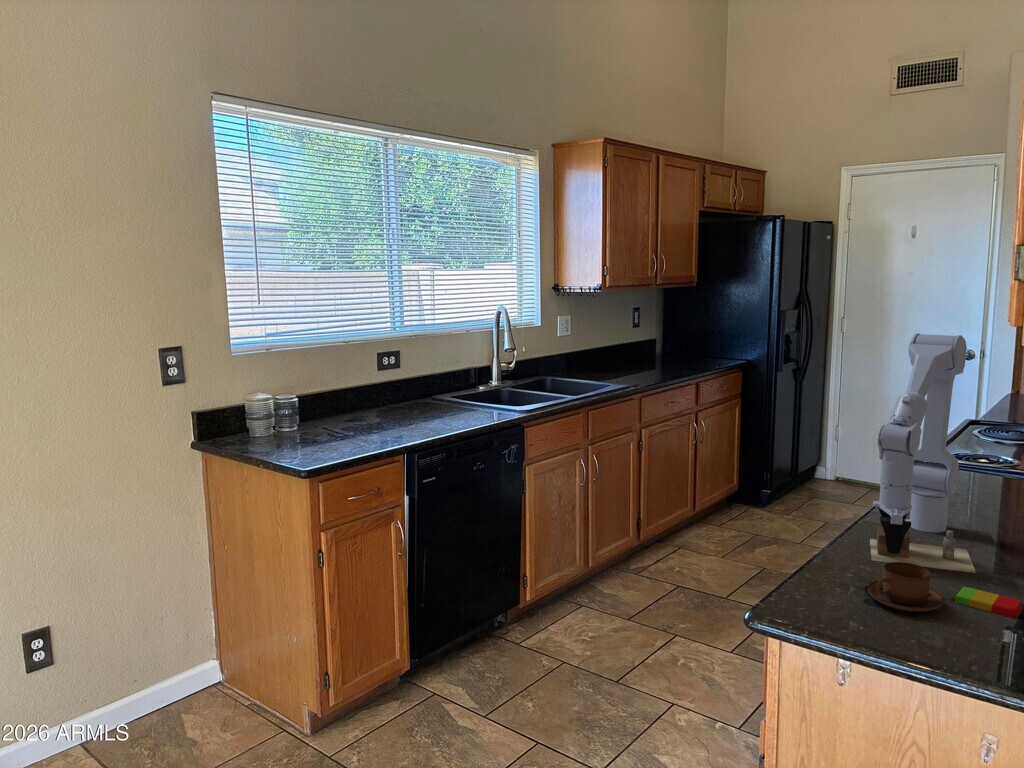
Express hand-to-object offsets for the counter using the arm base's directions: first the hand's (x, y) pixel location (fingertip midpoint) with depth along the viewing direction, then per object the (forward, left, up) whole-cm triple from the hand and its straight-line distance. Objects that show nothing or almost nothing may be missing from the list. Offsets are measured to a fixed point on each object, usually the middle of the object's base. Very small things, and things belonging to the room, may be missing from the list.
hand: (892, 547), depth 156 cm
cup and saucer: (+23, +1, -2) cm, 23 cm away
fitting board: (0, +5, -2) cm, 5 cm away
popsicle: (+18, +12, -2) cm, 22 cm away
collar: (0, 0, -1) cm, 1 cm away
